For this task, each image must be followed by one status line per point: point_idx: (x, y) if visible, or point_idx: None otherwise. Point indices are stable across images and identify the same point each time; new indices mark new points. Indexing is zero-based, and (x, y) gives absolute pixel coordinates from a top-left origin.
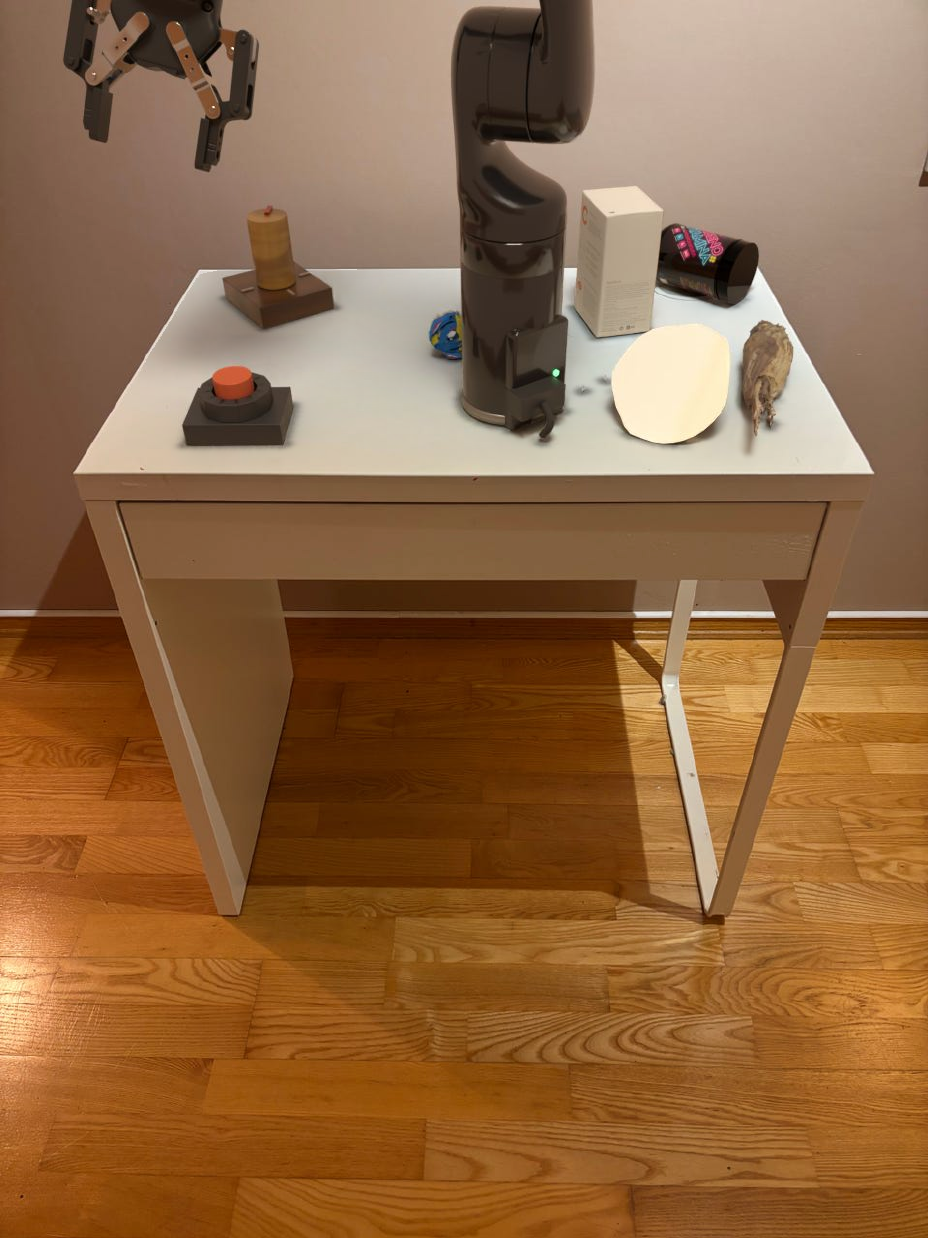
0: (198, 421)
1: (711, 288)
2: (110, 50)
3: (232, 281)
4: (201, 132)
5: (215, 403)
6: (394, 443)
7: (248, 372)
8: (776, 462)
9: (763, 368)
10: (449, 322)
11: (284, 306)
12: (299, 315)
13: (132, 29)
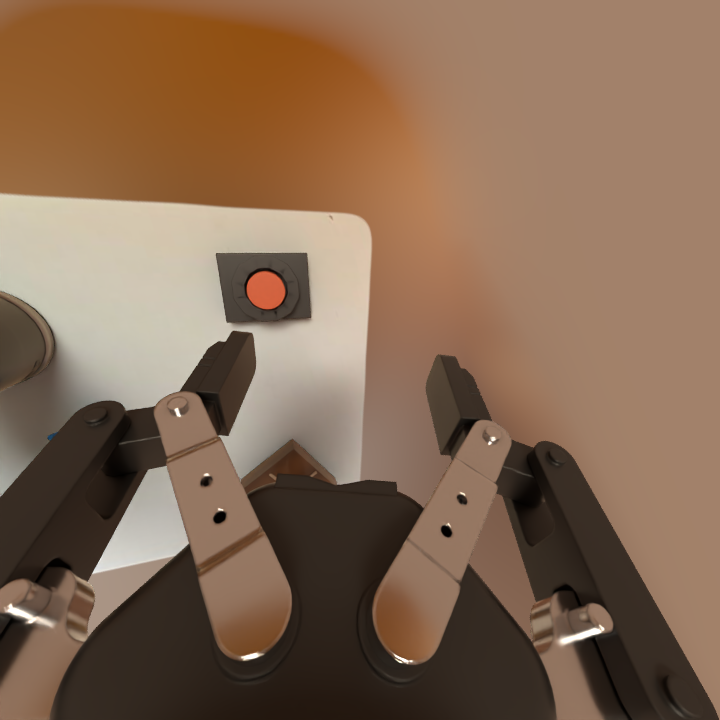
0: (293, 258)
1: None
2: (477, 486)
3: None
4: (223, 370)
5: (276, 260)
6: (105, 255)
7: (250, 295)
8: None
9: None
10: None
11: (276, 459)
12: (266, 460)
13: (431, 564)
